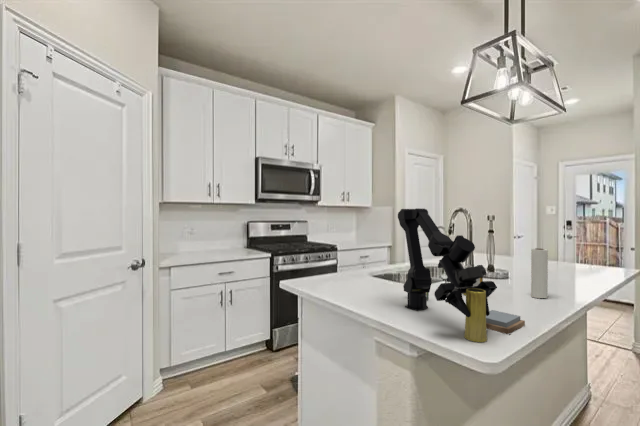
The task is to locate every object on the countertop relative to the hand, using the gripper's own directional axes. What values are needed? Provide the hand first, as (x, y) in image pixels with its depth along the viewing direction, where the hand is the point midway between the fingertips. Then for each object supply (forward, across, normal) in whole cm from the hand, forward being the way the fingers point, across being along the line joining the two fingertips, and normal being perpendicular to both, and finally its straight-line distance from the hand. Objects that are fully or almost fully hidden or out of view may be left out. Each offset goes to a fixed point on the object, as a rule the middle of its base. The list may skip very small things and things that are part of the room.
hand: (479, 315), depth 98 cm
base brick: (-2, +16, +12) cm, 20 cm away
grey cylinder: (-21, +62, +31) cm, 72 cm away
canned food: (-28, +35, +38) cm, 59 cm away
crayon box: (-27, +8, +38) cm, 47 cm away
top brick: (-3, +16, +11) cm, 20 cm away
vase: (+4, 0, +6) cm, 7 cm away
